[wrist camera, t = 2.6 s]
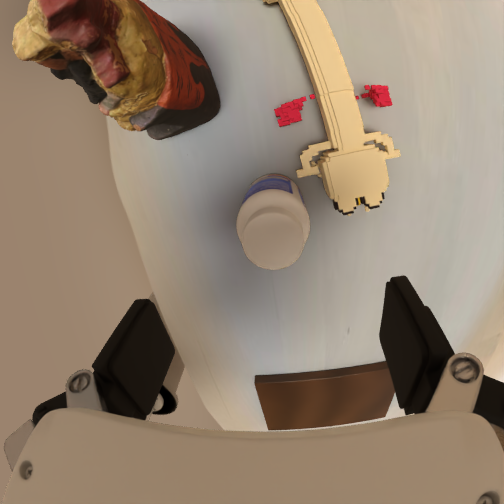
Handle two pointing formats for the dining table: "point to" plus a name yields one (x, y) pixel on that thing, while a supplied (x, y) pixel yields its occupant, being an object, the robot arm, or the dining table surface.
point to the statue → (122, 62)
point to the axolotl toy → (336, 116)
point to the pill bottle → (273, 222)
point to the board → (325, 397)
